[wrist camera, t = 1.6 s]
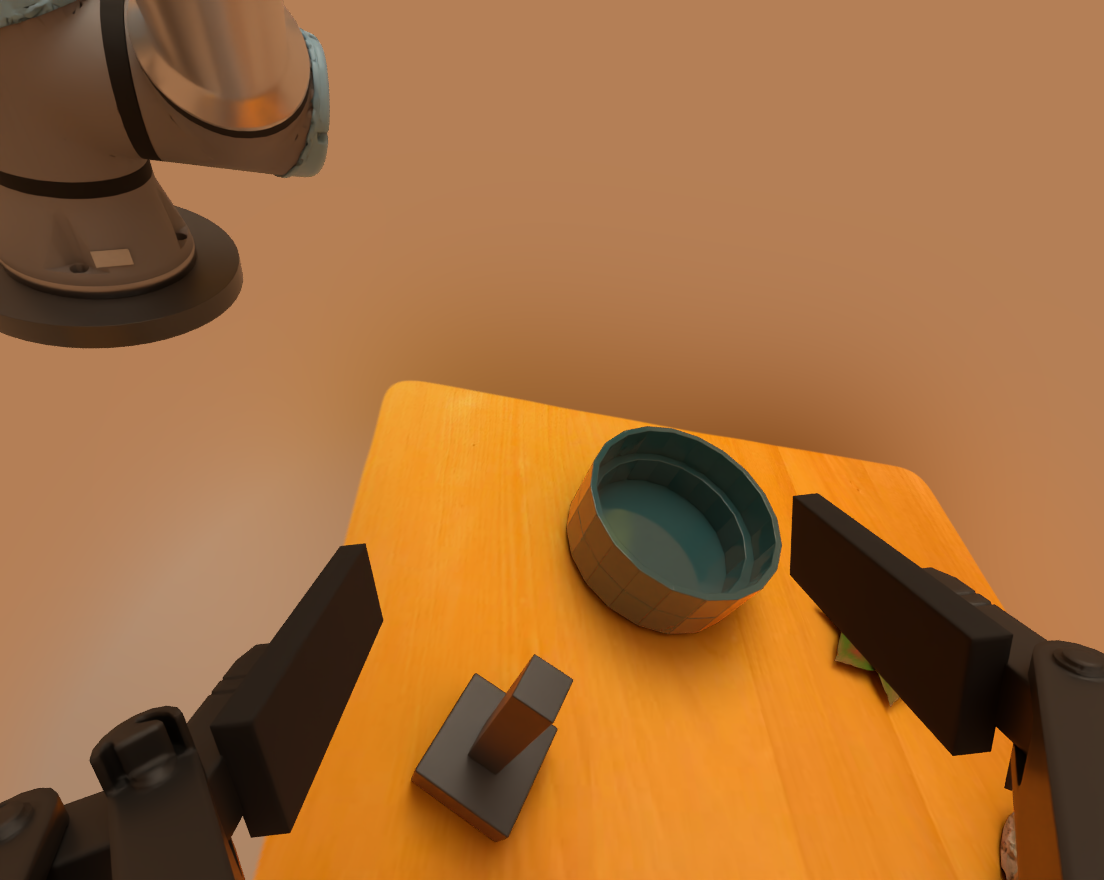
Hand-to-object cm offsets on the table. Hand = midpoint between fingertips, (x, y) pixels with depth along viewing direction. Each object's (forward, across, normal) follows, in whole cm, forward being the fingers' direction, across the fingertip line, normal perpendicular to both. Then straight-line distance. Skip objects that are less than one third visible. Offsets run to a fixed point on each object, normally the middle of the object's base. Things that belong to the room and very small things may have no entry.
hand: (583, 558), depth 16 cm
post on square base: (+9, -6, -17) cm, 21 cm away
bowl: (+24, +7, -14) cm, 28 cm away
